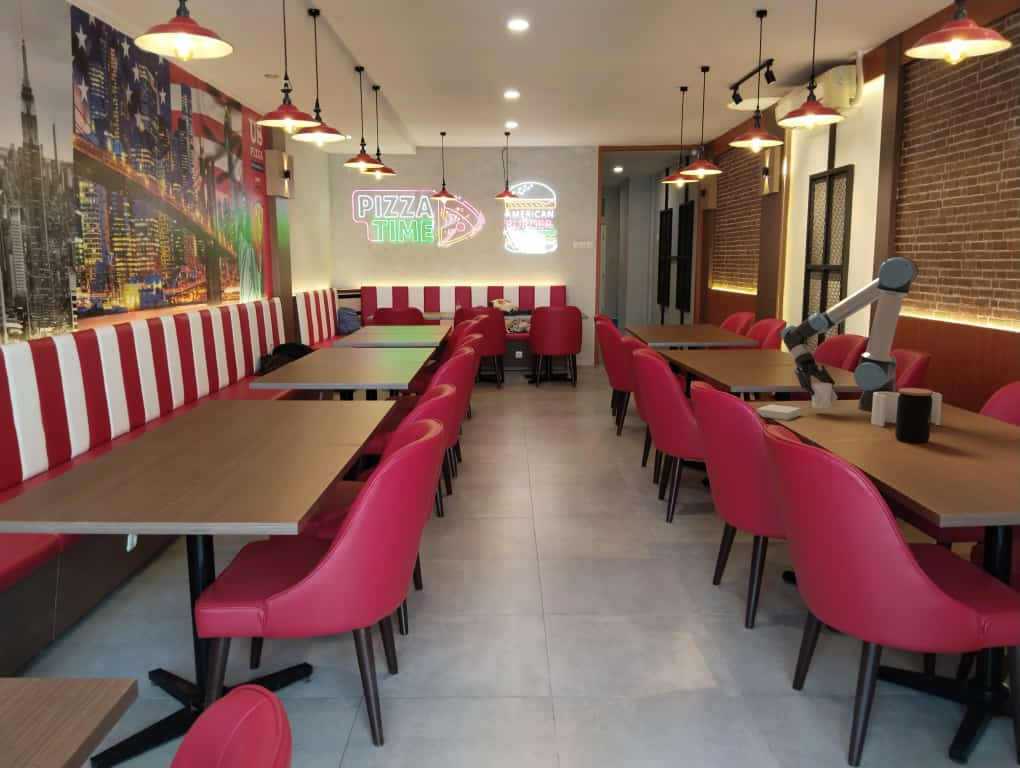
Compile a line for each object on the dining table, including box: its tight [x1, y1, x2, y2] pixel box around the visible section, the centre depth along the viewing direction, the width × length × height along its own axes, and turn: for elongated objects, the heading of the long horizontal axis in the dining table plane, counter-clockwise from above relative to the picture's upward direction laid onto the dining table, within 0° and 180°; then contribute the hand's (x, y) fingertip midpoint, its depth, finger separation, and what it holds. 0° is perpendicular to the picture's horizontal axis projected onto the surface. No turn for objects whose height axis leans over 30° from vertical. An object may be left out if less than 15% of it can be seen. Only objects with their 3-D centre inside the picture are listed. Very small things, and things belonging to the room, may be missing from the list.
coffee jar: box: [894, 387, 934, 444], centre depth 262 cm, size 11×11×18 cm
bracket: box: [870, 391, 943, 428], centre depth 289 cm, size 25×10×12 cm, turn 91°
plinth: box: [756, 404, 802, 421], centre depth 307 cm, size 13×13×3 cm
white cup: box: [811, 382, 832, 410], centre depth 309 cm, size 8×8×10 cm
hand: (826, 400), depth 306 cm, fingers closed on white cup, 8 cm apart
